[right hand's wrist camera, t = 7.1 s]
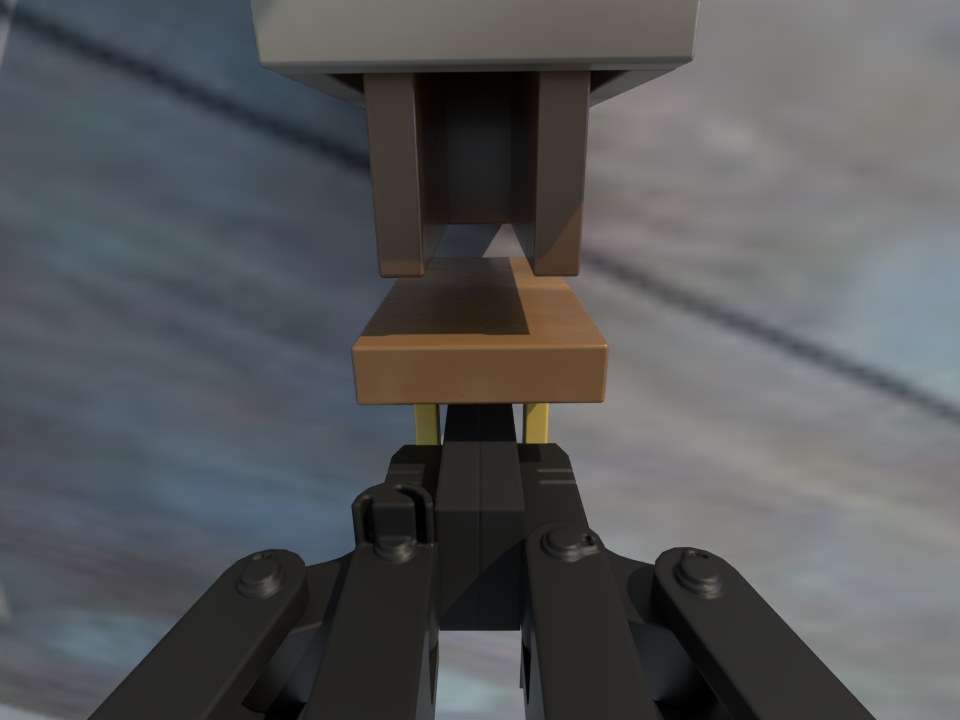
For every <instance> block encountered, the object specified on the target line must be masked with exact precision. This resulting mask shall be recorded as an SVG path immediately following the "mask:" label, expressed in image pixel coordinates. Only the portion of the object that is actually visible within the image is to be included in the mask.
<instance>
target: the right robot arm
mask: <svg viewBox="0 0 960 720" xmlns="http://www.w3.org/2000/svg"><path fill="white" fill-rule="evenodd" d="M351 506H352V515H353V524H354V533H355V542H356V547H355V550H354V551H352V552H350V553H349V554H347V555H345V556H343V557H341V558H337V559H334V560H331V561H328V562H324V563H320V564H316V565H312V566H307V567H305V562H304V561H303V560H302V559H301V558H300V556H299V555H298V554H296V553H293V552H290V551H288V550H280V549H269V550H265V551H261V552H256V553H253V554H251V555H249V556H247V557H245V558H243V559H241V560H238V561H237V562H236V563H235V564H233V565H232V566H231V567H230V568H228V569H227V570H226V571H225V572H224V573H223V574H222V575H221V576H220V577H219V578H218V579H217V580H216V582H215V583H214V584H213V585H212V586H211V587H210V588H209V589H208V590H207V591H206V592H205V593H204V594H203V596H202V597H201V598H200V599H199V600H198V601H197V602H196V603H195V604H194V605H193V606H192V607H191V608H190V609H189V611H188V612H187V613H186V614H185V615H184V616H183V617H182V618H181V619H180V620H179V621H178V622H177V623H176V625H175V626H174V627H173V628H172V629H171V630H170V631H169V632H168V633H167V634H166V635H165V636H164V637H163V639H162V640H161V641H160V642H159V643H158V644H157V645H156V646H155V647H154V648H153V649H152V650H151V651H150V653H149V654H148V655H147V656H146V657H145V658H144V659H143V660H142V661H141V662H140V663H139V664H138V665H137V667H136V668H135V669H134V670H133V671H132V672H131V673H130V674H129V675H128V676H127V677H126V678H125V679H124V681H123V682H122V683H121V684H120V685H119V686H118V687H117V688H116V689H115V690H114V691H113V692H112V693H111V694H110V696H109V697H108V698H107V699H106V700H105V701H104V702H103V703H102V704H101V705H100V706H99V707H98V708H97V710H96V711H95V712H94V713H93V714H92V715H91V716H90V717H89V718H88V719H87V720H434V717H435V704H436V691H437V678H438V665H439V644H438V634H439V628H440V631H520V627H521V632H522V644H521V668H520V688H523V691H524V703H525V716H526V720H876V719H875V718H874V717H873V716H872V715H871V713H870V712H869V711H868V710H867V709H866V708H865V707H864V706H863V705H862V704H861V703H860V702H859V701H858V700H857V699H856V697H855V696H854V695H853V694H852V693H851V692H850V691H849V690H848V689H847V688H846V687H845V686H844V685H843V684H842V682H841V681H840V680H839V679H838V678H837V677H836V676H835V675H834V674H833V673H832V672H831V671H830V670H829V669H828V668H827V666H826V665H825V664H824V663H823V662H822V661H821V660H820V659H819V658H818V657H817V656H816V655H815V654H814V653H813V651H812V650H811V649H810V648H809V647H808V646H807V645H806V644H805V643H804V642H803V641H802V640H801V639H800V638H799V637H798V635H797V634H796V633H795V632H794V631H793V630H792V629H791V628H790V627H789V626H788V625H787V624H786V623H785V622H784V620H783V619H782V618H781V617H780V616H779V615H778V614H777V613H776V612H775V611H774V610H773V609H772V608H771V607H770V606H769V604H768V603H767V602H766V601H765V600H764V599H763V598H762V597H761V596H760V595H759V594H758V593H757V592H756V591H755V589H754V588H753V587H752V586H751V585H750V584H749V583H748V582H747V581H746V580H745V579H744V578H743V577H742V576H741V575H740V573H739V572H738V571H737V570H736V569H735V568H733V567H732V566H731V565H730V564H728V563H727V562H726V561H725V560H724V559H722V558H720V557H718V556H716V555H714V554H712V553H710V552H708V551H705V550H700V549H696V548H691V547H677V548H672V549H670V550H667V551H664V552H662V554H661V555H660V556H659V557H658V558H657V559H656V561H655V565H653V564H649V563H644V562H640V561H636V560H632V559H629V558H626V557H623V556H619V555H617V554H615V553H613V552H612V551H610V550H608V549H606V548H605V546H604V544H603V542H602V541H601V539H600V537H599V536H598V535H597V534H596V533H595V532H594V531H592V530H591V529H590V528H589V525H588V522H587V519H586V515H585V512H584V508H583V505H582V501H581V498H580V494H579V491H578V487H577V484H576V481H575V477H574V474H573V472H572V467H571V463H570V460H569V456H568V455H567V454H566V453H565V452H564V451H563V450H562V449H561V448H560V447H559V446H558V445H557V444H556V443H517V441H516V433H515V425H514V417H513V409H512V404H448V408H447V416H446V424H445V432H444V440H443V445H404V446H403V447H402V448H401V449H399V450H398V451H397V452H396V453H395V454H394V455H393V456H392V458H391V462H390V465H389V469H388V474H387V476H386V479H385V482H384V483H382V484H379V485H376V486H373V487H370V488H368V489H367V490H365V491H364V492H362V493H361V494H360V495H358V496H357V498H356V499H355V501H354V502H353V504H352V505H351Z"/></svg>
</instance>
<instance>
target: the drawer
mask: <svg viewBox="0 0 960 720" xmlns="http://www.w3.org/2000/svg"><path fill="white" fill-rule="evenodd" d="M590 81H591V70H568V71H488V72H408V73H363V83H364V95H365V107H366V120H367V132H368V144H369V156H370V168H371V181H372V193H373V205H374V217H375V229H376V242H377V254H378V266H379V274H380V276H381V277H383V278H398V279H397V281H396V282H395V284H394V285H393V287H392V288H391V290H390V291H389V292H388V294H387V295H386V297H385V298H384V300H383V301H382V303H381V304H380V306H379V307H378V309H377V310H376V312H375V313H374V315H373V316H372V318H371V319H370V321H369V322H368V324H367V325H366V327H365V328H364V330H363V331H362V333H361V334H360V336H359V337H358V339H357V340H356V342H355V343H354V345H353V346H352V348H351V356H352V365H353V374H354V384H355V393H356V401H357V403H358V404H359V405H414V417H415V433H416V445H441V436H440V413H439V404H523V437H522V443H547V430H548V405H549V403H601V402H603V401H604V399H605V390H606V378H607V366H608V354H609V346H608V344H607V342H606V341H605V339H604V338H603V336H602V335H601V333H600V332H599V330H598V329H597V327H596V326H595V324H594V323H593V321H592V320H591V318H590V317H589V316H588V314H587V313H586V311H585V310H584V308H583V307H582V305H581V304H580V302H579V301H578V299H577V298H576V296H575V295H574V293H573V292H572V290H571V289H570V287H569V286H568V284H567V283H566V281H565V280H564V279H563V277H562V276H578V275H579V269H580V252H581V235H582V218H583V201H584V184H585V167H586V150H587V133H588V116H589V99H590ZM451 224H511V225H512V227H513V229H514V232H515V234H516V236H517V238H518V241H519V243H520V245H521V247H522V250H523V252H524V254H525V256H526V257H499V258H432V257H433V255H434V253H435V251H436V249H437V247H438V244H439V242H440V240H441V238H442V236H443V234H444V232H445V230H446V228H447V225H451Z"/></svg>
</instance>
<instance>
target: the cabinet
mask: <svg viewBox="0 0 960 720" xmlns="http://www.w3.org/2000/svg"><path fill="white" fill-rule="evenodd" d="M250 5H251V12H252V19H253V26H254V33H255V40H256V46H257V53H258V60H259V63H260V65H261V67H264V68H266V69H268V70H271V71H273V72H276V73H278V74H279V75H282V76H284V77H287V78H289V79H292V80H294V81H297V82H299V83H302V84H304V85H307V86H309V87H312V88H314V89H316V90H319V91H321V92H324V93H326V94H329V95H331V96H334V97H336V98H339V99H341V100H344V101H346V102H349V103H351V104H354V105H356V106H359V107H361V108H364V109H366V107H365V95H364V83H363V73H408V72H488V71H568V70H591V81H590V99H589V107H592V106H594V105H596V104H598V103H601V102H603V101H605V100H607V99H610V98H612V97H614V96H616V95H619V94H621V93H623V92H625V91H628V90H630V89H632V88H634V87H637V86H639V85H641V84H643V83H646V82H648V81H650V80H652V79H655V78H657V77H659V76H662V75H664V74H666V73H668V72H671V71H673V70H675V69H676V68H678V67H680V66H682V65H684V64H687V63H689V62H691V61H692V60H693V58H694V55H695V47H696V38H697V30H698V22H699V14H700V5H701V0H250Z"/></svg>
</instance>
